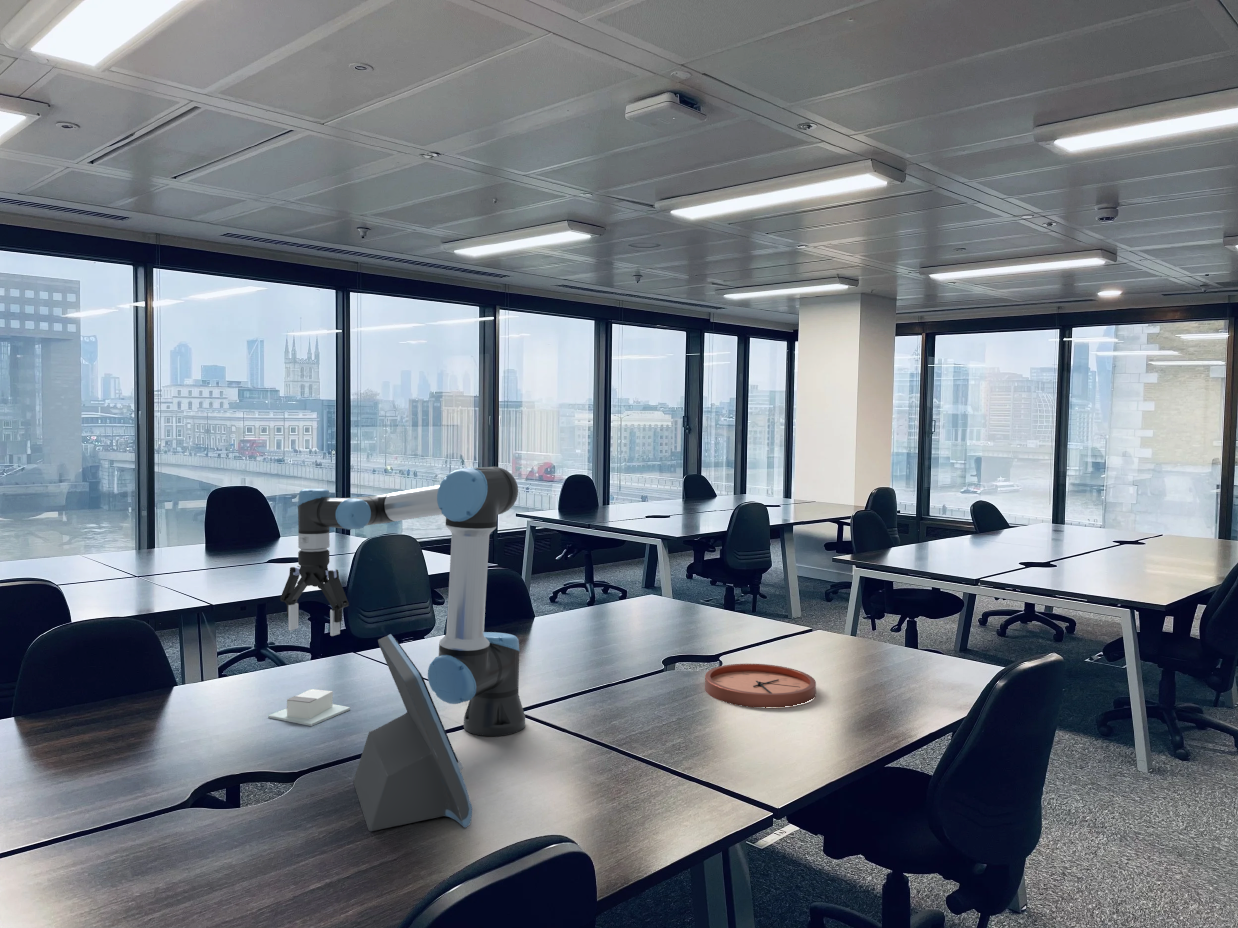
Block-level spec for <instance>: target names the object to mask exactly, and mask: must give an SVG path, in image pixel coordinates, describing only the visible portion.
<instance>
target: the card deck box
mask: <svg viewBox="0 0 1238 928" xmlns="http://www.w3.org/2000/svg"><path fill="white" fill-rule="evenodd" d="M333 696H334V691H332V690H326V689H325V690H322V689H313V688H310V689H308V690H305V691H304V692H302V693H300V694H297V695H294V696H291V697H289V698H287V699H286V708H287V716H290V717H299V718H307V719H310V718H312V717H314V716H316V715H318V714H319V713H321V712H323V711H325V710H327V709H329V708H331V707H333V704H334V701H333V699H334V697H333Z"/></svg>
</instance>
